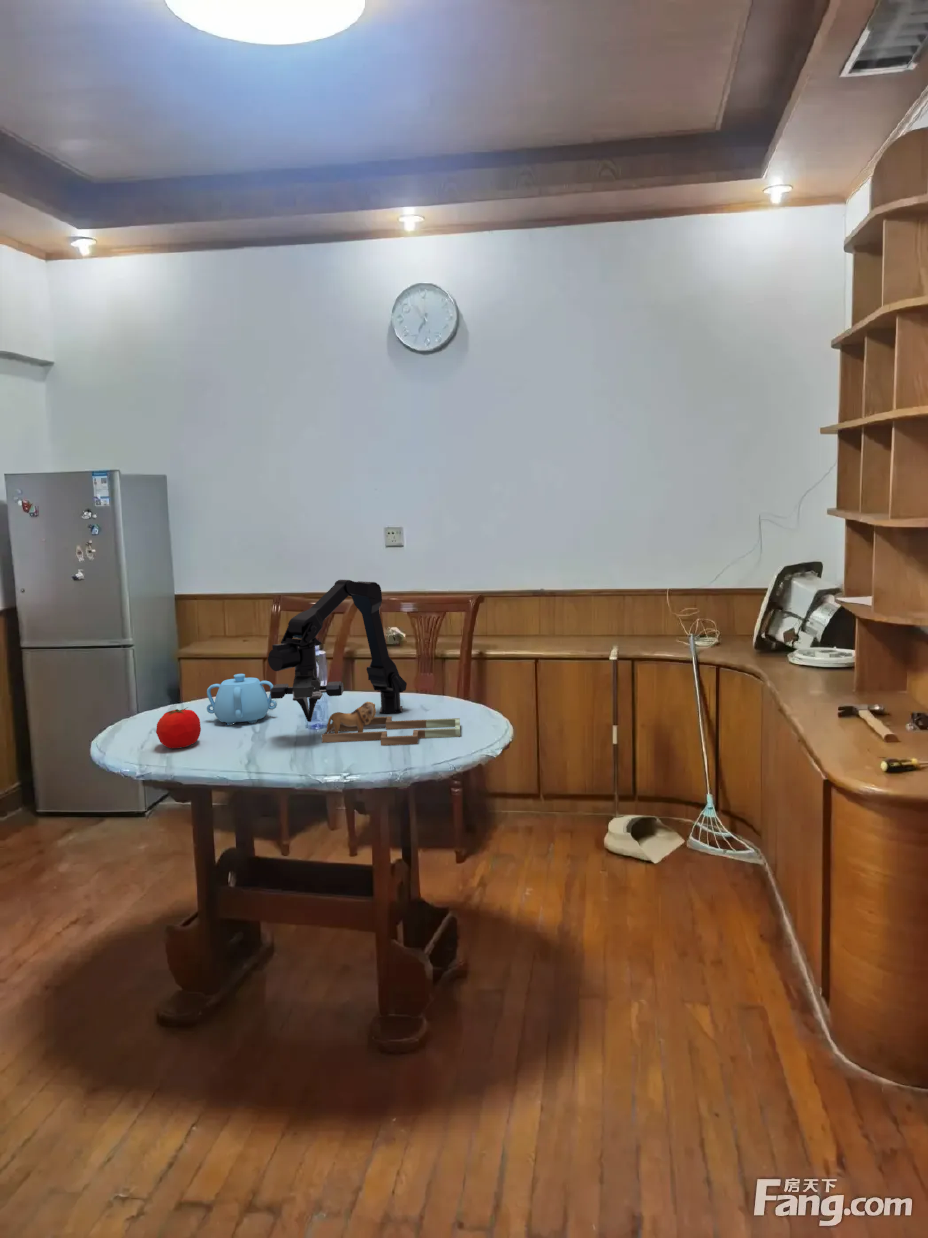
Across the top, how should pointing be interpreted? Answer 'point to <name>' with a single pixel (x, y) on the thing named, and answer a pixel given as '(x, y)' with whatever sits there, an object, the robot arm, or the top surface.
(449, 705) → the top surface
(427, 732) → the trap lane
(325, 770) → the top surface
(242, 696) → the decorative pot
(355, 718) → the lion figurine
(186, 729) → the tomato
